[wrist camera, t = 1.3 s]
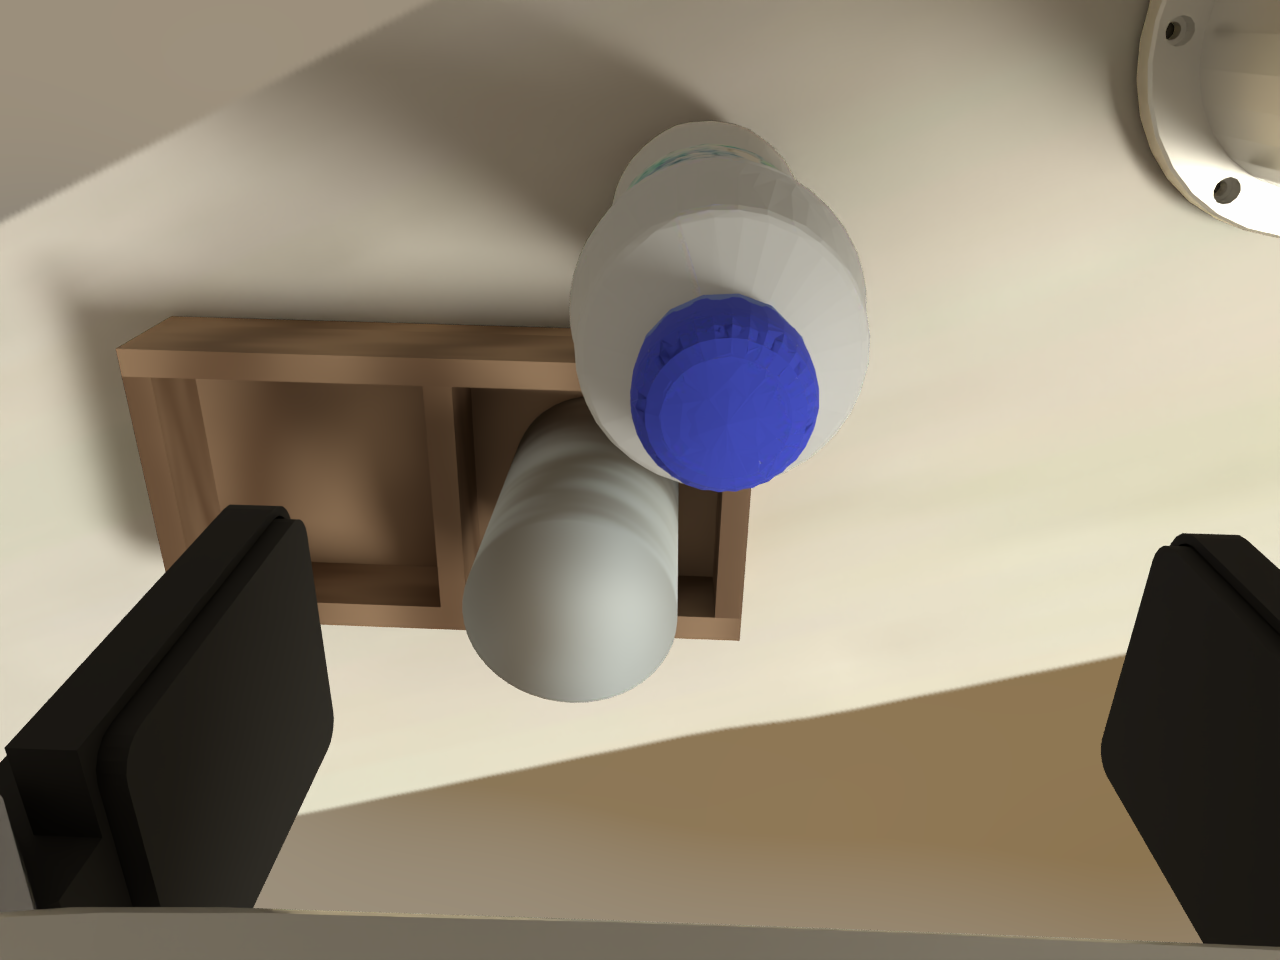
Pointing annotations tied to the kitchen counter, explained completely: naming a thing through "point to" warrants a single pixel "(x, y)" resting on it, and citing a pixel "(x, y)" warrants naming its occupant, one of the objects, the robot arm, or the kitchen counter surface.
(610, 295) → the bottle
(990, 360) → the kitchen counter surface
